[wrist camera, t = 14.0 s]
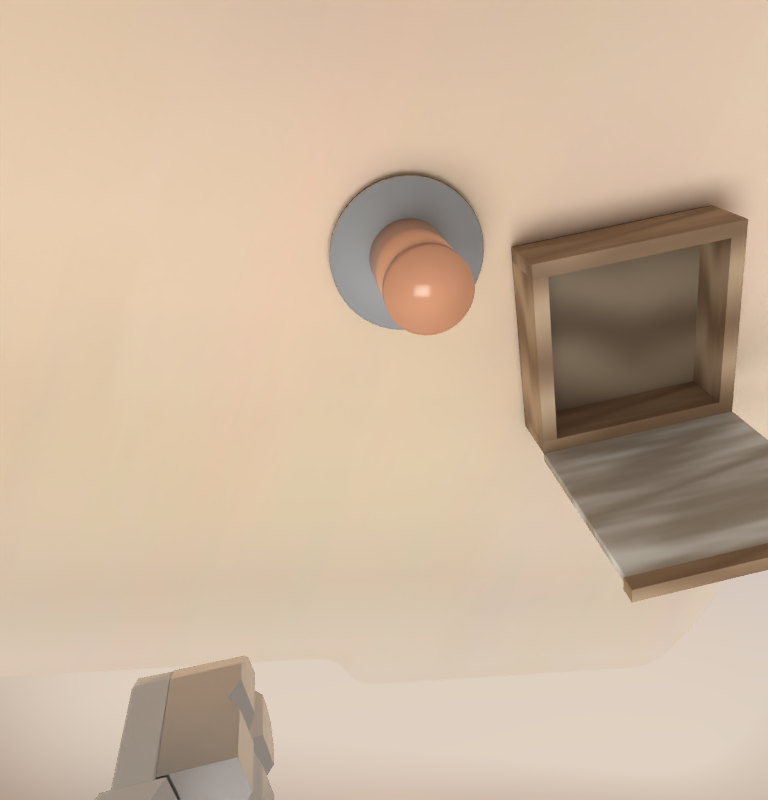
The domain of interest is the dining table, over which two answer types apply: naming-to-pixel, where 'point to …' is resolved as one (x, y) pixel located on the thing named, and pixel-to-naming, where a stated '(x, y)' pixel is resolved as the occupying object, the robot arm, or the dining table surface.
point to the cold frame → (646, 394)
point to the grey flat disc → (378, 211)
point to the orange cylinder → (420, 277)
